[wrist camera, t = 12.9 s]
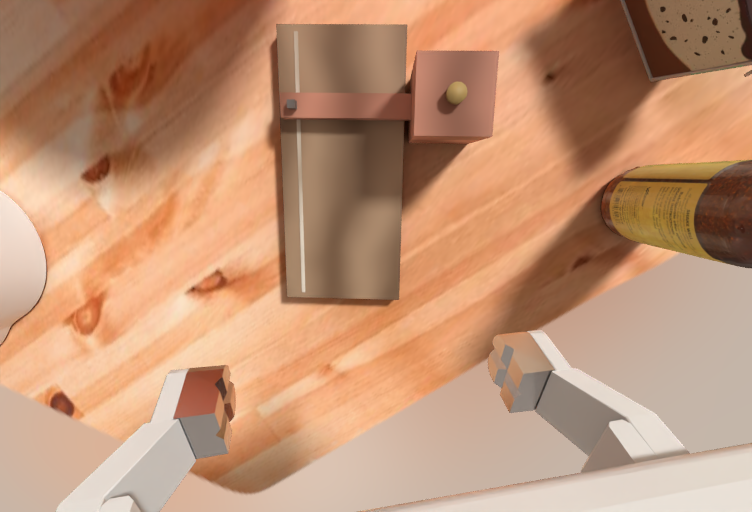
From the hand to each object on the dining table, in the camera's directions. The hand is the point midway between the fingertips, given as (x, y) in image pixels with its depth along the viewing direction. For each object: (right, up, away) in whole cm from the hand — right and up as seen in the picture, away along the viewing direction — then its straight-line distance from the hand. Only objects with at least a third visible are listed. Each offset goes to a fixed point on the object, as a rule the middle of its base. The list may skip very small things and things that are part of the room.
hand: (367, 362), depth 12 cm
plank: (-2, +11, +21) cm, 24 cm away
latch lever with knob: (+1, +15, +20) cm, 25 cm away
